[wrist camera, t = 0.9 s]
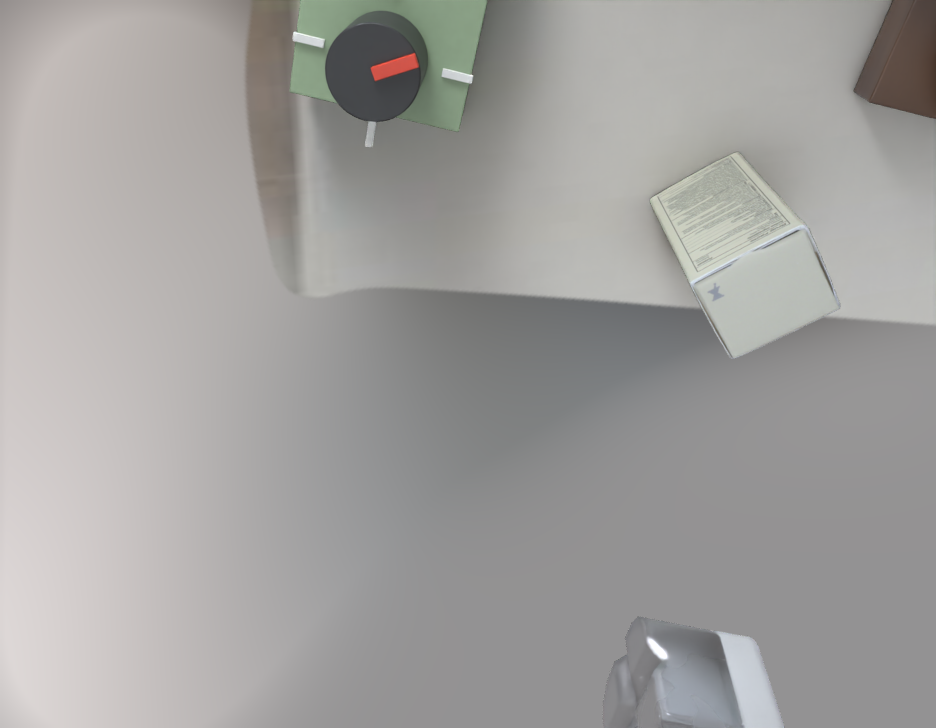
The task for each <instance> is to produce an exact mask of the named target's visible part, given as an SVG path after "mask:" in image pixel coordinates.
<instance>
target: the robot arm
mask: <svg viewBox="0 0 936 728" xmlns="http://www.w3.org/2000/svg"><path fill="white" fill-rule="evenodd" d="M625 640H626V647H627V655H625V656H623V657H622V658H620V659H618V660H616V661H615V662H614V664H613V667H612V669H611V672H610V674H609V677H608V680H607V684H606V690H605V695H604V700H603V725H604V728H785V726H784V723H783V720H782V717H781V714H780V711H779V708H778V705H777V702H776V699H775V696H774V693H773V690H772V687H771V684H770V680H769V678H768V675H767V671H766V668H765V665H764V662H763V659H762V656H761V653H760V650H759V647H758V644H757V643H756V642H755V641H754V640H753V638H751V637H746V636H741V635H735V634H730V633H724V632H718V631H710V630H706V629H700V628H695V627H691V626H685V625H680V624H675V623H670V622H664V621H659V620H654V619H648V618H644V617H637V618H636V619H635V620H634V621H633V622H632V624H631V626H630V628H629V630H628V632H627V635H626V637H625Z"/></svg>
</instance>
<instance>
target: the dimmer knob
mask: <svg viewBox="0 0 936 728" xmlns="http://www.w3.org/2000/svg"><path fill="white" fill-rule="evenodd" d="M427 66H428V54H427V48H426V44H425V42H424V39H423V37H422V35H421V34H420V32H419V31H418V29H417V28H416V27H415V26H414V25H413V24H412V23H411V22H410V21H409V20H408V19H406V18H404V17H403V16H401V15H399V14H396V13H393V12H389V11H373V12H369V13H366V14H364V15H362V16H360V17H358V18H357V19H356V20H354V21H353V22H352V23H351V24H350V25H349V26H348V27H347V28H346V29H344V30H343V31H342V32H341V33H340V34H339V35H338V36H337V37H336V38H335V40H334V41H333V43H332V44H331V46H330V48H329V50H328V53H327V57H326V61H325V76H326V82H327V85H328V88H329V90H330V92H331V94H332V96H333V98H334V99H335V101H336V102H337V103H338V104H339V105H340V106H341V107H342V108H343V109H344V110H345V111H346V112H347V113H349V114H351V115H352V116H354V117H356V118H358V119H361V120H365V121H370V122H381V121H387V120H390V119H393V118H395V117H397V116H399V115H401V114H402V113H403V112H405V111H406V110H407V109H408V108H409V107H410V105H411V104H412V103H413V101H414V100H415V98H416V96H417V94H418V91H419V89H420V87H421V84H422V82H423V80H424V77H425V75H426V71H427Z"/></svg>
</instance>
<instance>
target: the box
mask: <svg viewBox="0 0 936 728" xmlns="http://www.w3.org/2000/svg"><path fill="white" fill-rule="evenodd" d="M650 204H651V206H652V208H653V210H654V212H655V214H656V216H657V218H658V220H659V222H660V225H661V227H662V229H663V231H664V233H665V235H666V237H667V239H668V241H669V243H670V245H671V247H672V249H673V251H674V253H675V255H676V257H677V259H678V261H679V263H680V265H681V267H682V270H683V272H684V274H685V276H686V278H687V280H688V282H689V284H690V286H691V288H692V290H693V292H694V294H695V296H696V298H697V300H698V302H699V304H700V306H701V308H702V310H703V312H704V314H705V315H706V317H707V319H708V321H709V323H710V325H711V326H712V328H713V330H714V332H715V334H716V335H717V337H718V338H719V341H720V342H721V344H722V346H723V347H724V349H725V351H726V352H727V354H728V356H729V357H730V358H732V359H734V358H737V357H740V356H742V355H744V354H747V353H749V352H751V351H753V350H755V349H757V348H760V347H762V346H764V345H766V344H769V343H770V342H773V341H775V340H777V339H779V338H781V337H784V336H786V335H788V334H790V333H792V332H794V331H796V330H798V329H800V328H802V327H804V326H806V325H808V324H810V323H812V322H814V321H816V320H818V319H820V318H822V317H824V316H826V315H828V314H830V313H832V312H835V311H837V310H838V309H840V302H839V299H838V297H837V294H836V292H835V289H834V287H833V284H832V281H831V279H830V276H829V274H828V272H827V269H826V266H825V264H824V262H823V259H822V257H821V255H820V252H819V250H818V248H817V245H816V243H815V241H814V239H813V236H812V234H811V232H810V229H809V227H808V226H807V225H806V224H805V223H804V222H803V221H802V220H801V219H800V218H799V217H798V216H797V215H796V214H795V213H794V212H793V211H792V210H791V209H790V208H789V206H788V205H787V204H786V203H785V202H784V201H783V200H782V199H781V198H780V197H779V195H778V194H777V193H776V192H775V191H774V190H773V189H772V188H771V187H770V186H769V185H768V184H767V183H766V182H765V181H764V179H763V178H762V177H761V176H760V175H759V174H758V173H757V172H756V170H755V169H754V168H753V167H752V166H751V165H750V164H749V163H748V162H747V160H746V159H745V158H744V157H743V156H742V155H741V154H740V153H739V152H735V153H733V154H731V155H729V156H727V157H725V158H723V159H721V160H719V161H717V162H715V163H713V164H711V165H709V166H707V167H705V168H703V169H701V170H700V171H698V172H696V173H694V174H693V175H691V176H689V177H687V178H685V179H684V180H682V181H680V182H678V183H676V184H675V185H673V186H671V187H669V188H668V189H666V190H664V191H663V192H661V193H659V194H657V195H656V196H654V197H652V198H651V199H650Z"/></svg>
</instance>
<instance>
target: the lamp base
mask: <svg viewBox="0 0 936 728" xmlns="http://www.w3.org/2000/svg"><path fill="white" fill-rule="evenodd" d="M854 93H856V94H857V95H859V96H860V97H862V98H864V99H865V100H867V101H868V102H870V103H874V104H878V105H882V106H886V107H890V108H894V109H898V110H902V111H906V112H910V113H914V114H918V115H922V116H926V117H930V118H934V119H936V0H893V2H892V4H891V6H890V9H889V11H888V13H887V16H886V18H885V20H884V23H883V25H882V27H881V29H880V32H879V34H878V36H877V39H876V41H875V43H874V45H873V48H872V50H871V52H870V55H869V57H868V59H867V62H866V64H865V66H864V68H863V71H862V73H861V75H860V78H859V80H858V82H857V84H856V87H855V89H854Z"/></svg>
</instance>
